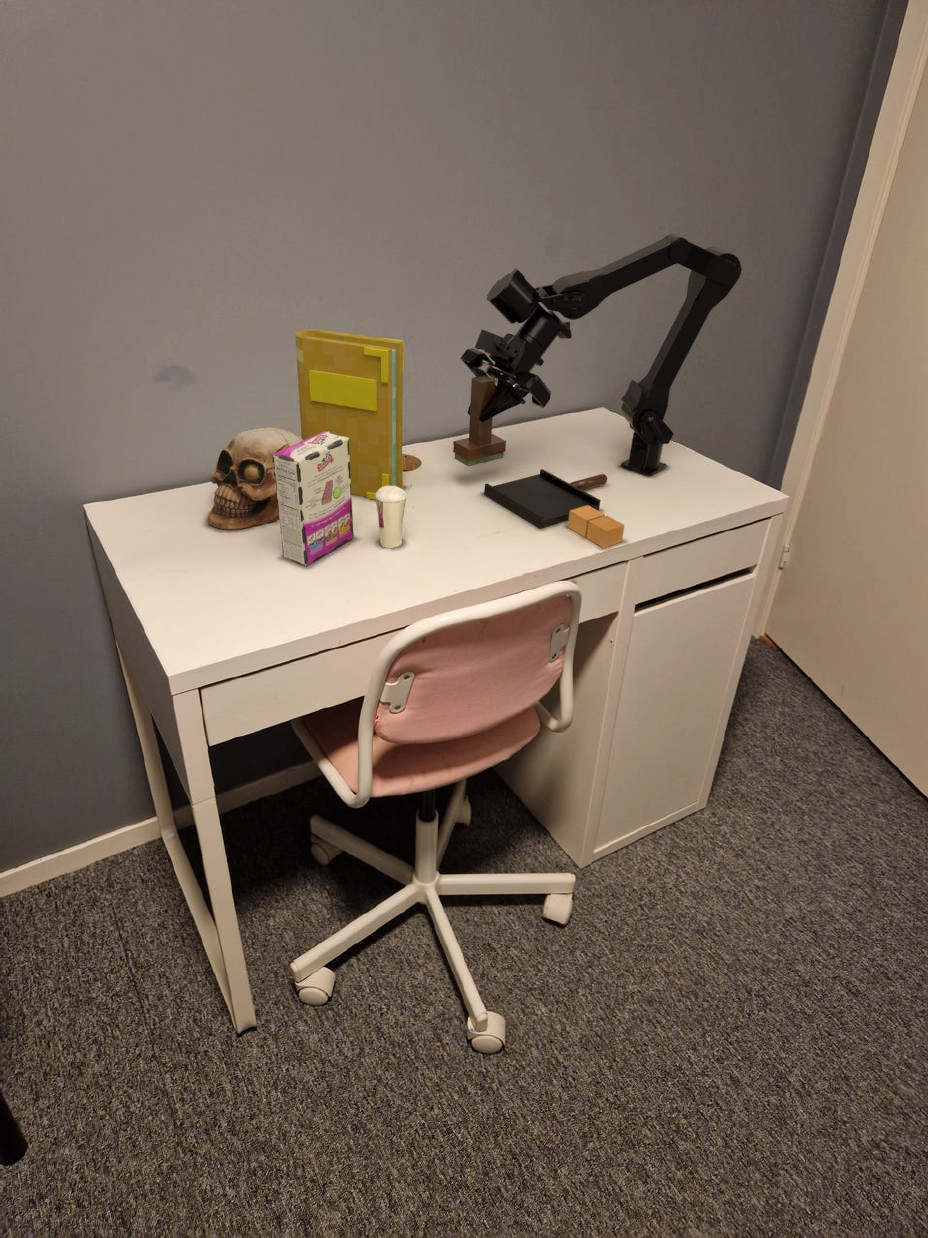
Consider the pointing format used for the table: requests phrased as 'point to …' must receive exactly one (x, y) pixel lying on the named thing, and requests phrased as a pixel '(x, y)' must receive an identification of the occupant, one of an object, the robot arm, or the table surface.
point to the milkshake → (391, 515)
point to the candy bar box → (314, 496)
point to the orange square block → (605, 531)
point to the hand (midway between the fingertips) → (474, 417)
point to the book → (355, 401)
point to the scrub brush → (479, 428)
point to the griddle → (545, 497)
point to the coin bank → (248, 479)
